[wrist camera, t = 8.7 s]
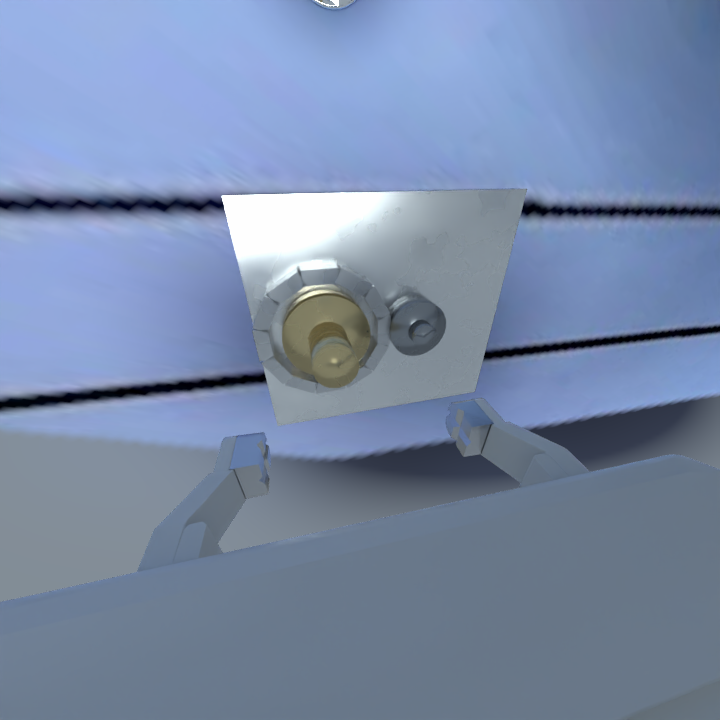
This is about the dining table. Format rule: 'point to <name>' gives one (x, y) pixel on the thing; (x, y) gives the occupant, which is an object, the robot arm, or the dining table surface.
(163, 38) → the dining table surface
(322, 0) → the wineglass
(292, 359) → the brass flanged cylinder
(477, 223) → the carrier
